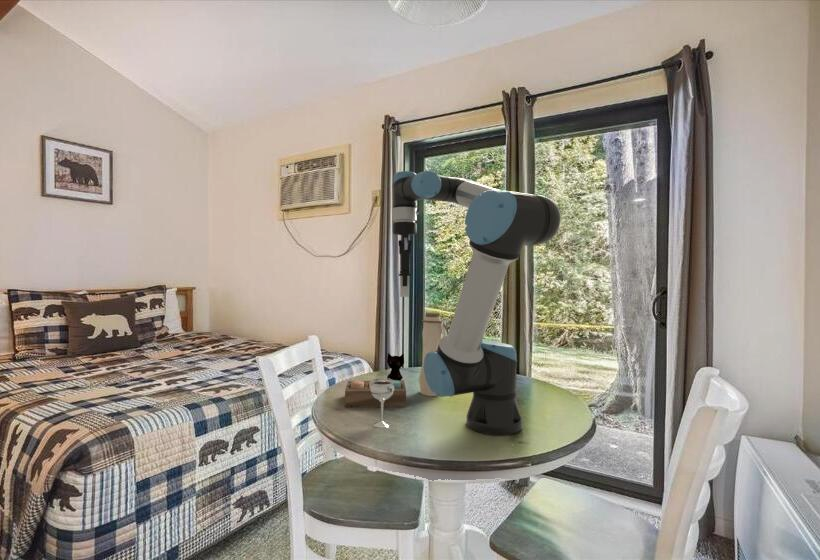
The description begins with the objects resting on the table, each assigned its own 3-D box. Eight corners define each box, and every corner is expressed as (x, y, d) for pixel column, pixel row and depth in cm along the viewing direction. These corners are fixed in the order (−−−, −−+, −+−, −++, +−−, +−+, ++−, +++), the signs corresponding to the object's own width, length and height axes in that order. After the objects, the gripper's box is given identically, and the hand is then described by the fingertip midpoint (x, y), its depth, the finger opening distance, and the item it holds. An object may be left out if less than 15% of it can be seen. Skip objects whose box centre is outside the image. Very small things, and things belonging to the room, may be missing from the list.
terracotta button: (363, 400, 136) (363, 384, 136) (350, 400, 136) (350, 384, 136) (364, 396, 141) (364, 380, 141) (351, 396, 141) (351, 380, 140)
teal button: (401, 400, 137) (401, 384, 137) (387, 400, 137) (387, 384, 137) (400, 395, 142) (400, 380, 141) (387, 396, 141) (387, 380, 141)
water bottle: (448, 389, 152) (449, 311, 151) (448, 397, 143) (449, 314, 142) (420, 388, 153) (420, 311, 152) (418, 396, 144) (418, 313, 143)
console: (405, 406, 134) (406, 390, 133) (344, 407, 132) (344, 391, 132) (403, 394, 146) (404, 380, 145) (347, 395, 144) (348, 380, 144)
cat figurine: (383, 387, 155) (384, 354, 154) (388, 382, 161) (388, 350, 161) (403, 388, 153) (403, 355, 153) (406, 383, 160) (406, 351, 160)
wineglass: (377, 430, 113) (377, 386, 113) (365, 422, 119) (365, 380, 119) (398, 425, 117) (399, 382, 117) (386, 418, 123) (386, 377, 122)
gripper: (418, 220, 129) (418, 298, 129) (415, 224, 141) (414, 295, 142) (393, 219, 128) (393, 297, 129) (392, 224, 141) (392, 295, 142)
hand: (404, 296), depth 135 cm, fingers closed
